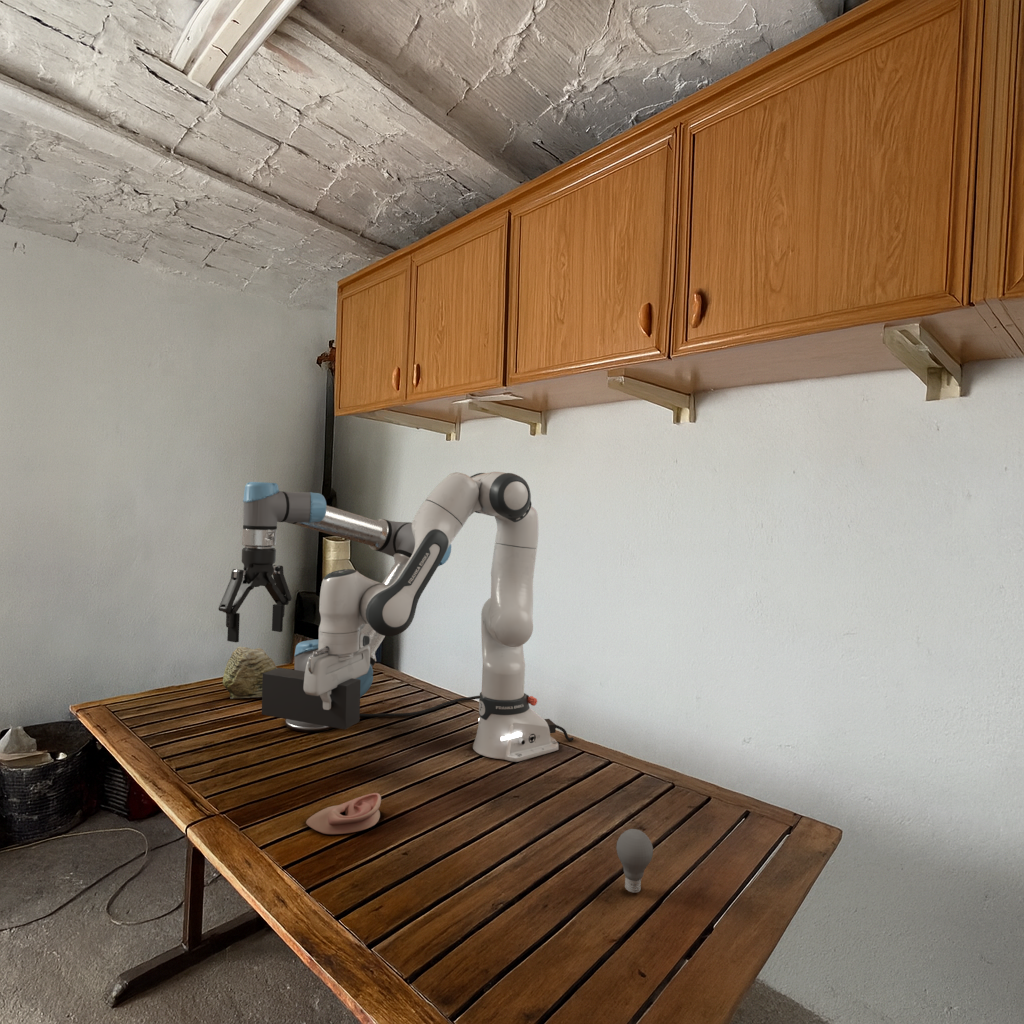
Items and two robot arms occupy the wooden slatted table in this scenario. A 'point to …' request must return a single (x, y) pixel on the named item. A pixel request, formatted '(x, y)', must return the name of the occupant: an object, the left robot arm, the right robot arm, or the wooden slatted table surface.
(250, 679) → the fossil
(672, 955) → the wooden slatted table surface
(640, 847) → the light bulb
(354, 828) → the anatomical model
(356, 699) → the bar
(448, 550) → the left robot arm
